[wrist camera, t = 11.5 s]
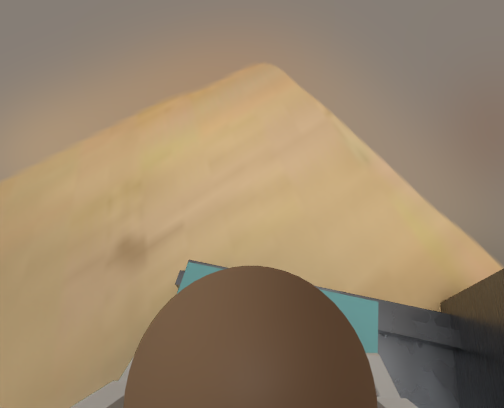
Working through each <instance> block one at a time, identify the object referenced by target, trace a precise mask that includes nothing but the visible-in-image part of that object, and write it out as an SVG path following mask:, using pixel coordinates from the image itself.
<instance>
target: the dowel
mask: <svg viewBox="0 0 504 408" xmlns="http://www.w3.org/2000/svg"><path fill="white" fill-rule="evenodd" d="M123 408H377V396H376V390H375V383H374V378H373V374H372V371H371V367H370V363H369V360H368V358H367V355H366V353H365V350H364V347H363V345H362V343H361V341H360V339H359V337H358V335H357V333H356V332H355V330H354V328H353V327H352V325H351V324H350V322H349V321H348V319H347V318H346V316H345V315H344V314H343V312H342V311H341V310H340V309H339V308H338V307H337V306H336V304H335V303H334V302H333V301H332V300H331V299H330V298H328V297H327V296H326V295H325V294H324V293H323V292H322V291H320V290H319V289H318V288H316V287H315V286H313V285H312V284H311V283H309V282H307V281H305V280H303V279H302V278H300V277H298V276H295V275H293V274H290V273H288V272H286V271H282V270H278V269H274V268H269V267H262V266H240V267H232V268H228V269H223V270H219V271H217V272H214V273H211V274H209V275H206V276H204V277H202V278H200V279H198V280H196V281H194V282H193V283H191V284H190V285H188V286H187V287H185V288H184V289H182V290H181V291H180V292H179V293H178V294H176V295H175V296H174V297H173V298H172V299H171V300H170V301H169V302H168V303H167V304H166V305H165V306H164V307H163V308H162V309H161V310H160V312H159V313H158V314H157V316H156V317H155V318H154V320H153V321H152V322H151V324H150V325H149V327H148V329H147V330H146V332H145V334H144V336H143V337H142V339H141V341H140V344H139V346H138V348H137V350H136V352H135V355H134V358H133V361H132V364H131V367H130V370H129V374H128V379H127V383H126V388H125V396H124V405H123Z"/></svg>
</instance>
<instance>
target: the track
mask: <svg viewBox="0 0 504 408" xmlns="http://www.w3.org/2000/svg"><path fill="white" fill-rule="evenodd" d="M188 262H191V263H196V264H201V265H206V266H210V267H215V268H220V269H228V268H226V267H221V266H216V265H212V264H207V263H202V262H197V261H192V260H189V261H188ZM184 273H185V271H181V270H180V272H179V275H178V278H177V280H176V283H175V285H176V286H177V287H178V288H179V287H180V284H181V281H182V278H183V276H184ZM315 287H316V288H318V289H320V290H325V291H329V292H334V293H339V294H344V295H348V296H353V297H358V298H363V299H367V300H372V301H377V302H378V354H379V355H380V357H381V359H382V361H383V363H384V365H385V367H386V369H387V371H388V373H389V375H390V377H391V379H392V381H393V383H394V385H395V387H396V389H397V391H398V393H399V395H400V397H401V398H406V399H408V400H409V401H410V402H412V403H413V404H414V405H415V406H417V407H418V408H504V269H502V270H500V271H498V272H496V273H495V274H493V275H491V276H489V277H487V278H485V279H484V280H482V281H480V282H478V283H476V284H474V285H473V286H471V287H469V288H467V289H465V290H463V291H462V292H460V293H458V294H456V295H454V296H452V297H451V298H449V299H447V300H445V301H443V302H441V312H436V311H432V310H427V309H422V308H417V307H413V306H408V305H403V304H398V303H393V302H389V301H384V300H379V299H374V298H369V297H365V296H360V295H355V294H350V293H346V292H341V291H336V290H331V289H326V288H322V287H317V286H315ZM178 290H179V289H178Z"/></svg>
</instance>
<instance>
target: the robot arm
mask: <svg viewBox="0 0 504 408" xmlns="http://www.w3.org/2000/svg"><path fill="white" fill-rule="evenodd" d="M366 355H367V358H368V360H369V363H370V367H371V371H372V374H373V378H374V383H375V390H376V396H377V408H418V407H417V406H415V405H414V404H413V403H412V402H410V401H409V400H408V399H406V398H401V397H400V395H399V393H398V391H397V389H396V387H395V385H394V383H393V381H392V379H391V377H390V375H389V373H388V371H387V369H386V367H385V365H384V363H383V361H382V359H381V357H380V355H379V354H378V353H366ZM133 358H134V357H133ZM133 358H132V360H131V361H130V363H129V364H128V366H127V368H126V369H125V371H124V372H123V374H122V375H121V377H120V379H119V380H118V381H112V382H110V383H109V384H107V385H105V386H104V387H102V388H100V389H99V390H97V391H96V392H94V393H92V394H91V395H89V396H88V397H86V398H84V399H83V400H81V401H80V402H78V403H76V404H75V405H73V406H72V407H70V408H123V405H124V396H125V388H126V383H127V379H128V374H129V370H130V367H131V364H132V361H133Z"/></svg>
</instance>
